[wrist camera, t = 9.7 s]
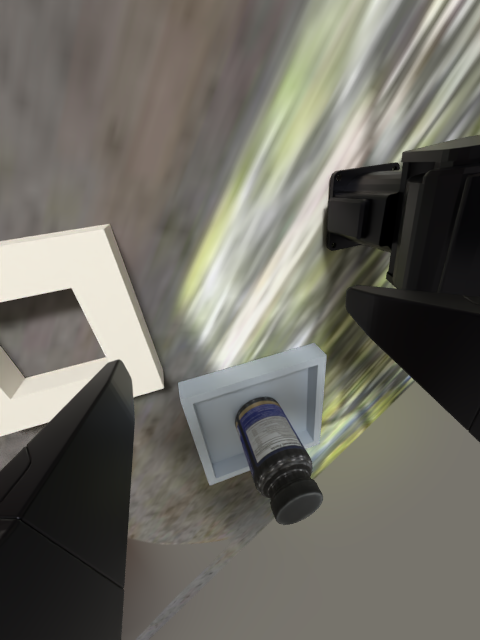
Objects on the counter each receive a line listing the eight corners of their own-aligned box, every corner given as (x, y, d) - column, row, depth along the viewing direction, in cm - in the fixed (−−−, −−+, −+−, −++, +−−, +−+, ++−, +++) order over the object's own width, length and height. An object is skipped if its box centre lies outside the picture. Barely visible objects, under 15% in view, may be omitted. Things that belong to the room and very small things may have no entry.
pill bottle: (269, 429, 33) (313, 523, 24) (227, 431, 31) (258, 536, 22) (285, 394, 31) (341, 483, 22) (241, 394, 29) (283, 493, 19)
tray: (314, 342, 29) (326, 355, 27) (310, 428, 37) (319, 443, 35) (178, 382, 26) (180, 399, 24) (206, 467, 34) (209, 485, 32)
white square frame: (109, 223, 18) (103, 229, 16) (163, 370, 25) (163, 388, 23) (-134, 262, 15) (-182, 275, 13) (4, 415, 22) (-12, 439, 20)
